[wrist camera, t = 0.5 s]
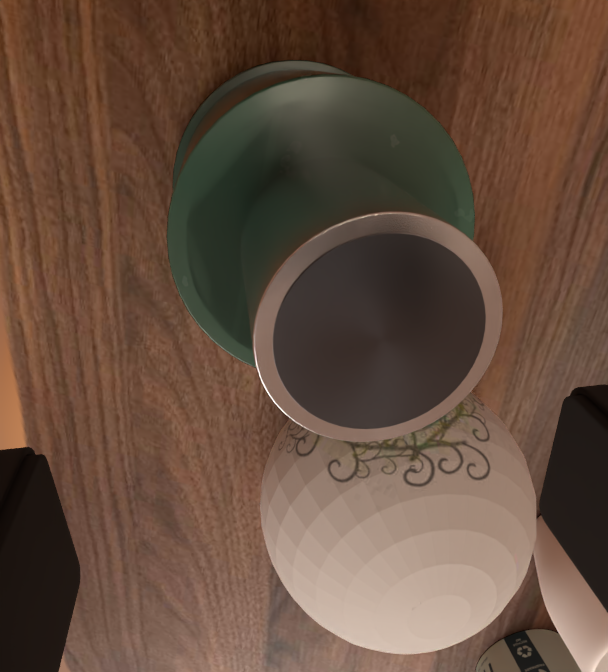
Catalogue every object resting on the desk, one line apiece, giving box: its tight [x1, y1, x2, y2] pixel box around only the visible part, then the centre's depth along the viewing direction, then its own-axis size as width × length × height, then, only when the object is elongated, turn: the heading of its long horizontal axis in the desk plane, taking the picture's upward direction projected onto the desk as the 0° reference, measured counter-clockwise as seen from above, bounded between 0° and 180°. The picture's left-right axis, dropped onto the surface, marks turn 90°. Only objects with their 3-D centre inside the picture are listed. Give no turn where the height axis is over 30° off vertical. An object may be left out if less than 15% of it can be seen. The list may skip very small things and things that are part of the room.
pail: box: [167, 60, 475, 368], centre depth 26 cm, size 13×13×10 cm
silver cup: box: [240, 157, 503, 442], centre depth 18 cm, size 7×7×8 cm
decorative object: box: [260, 393, 536, 654], centre depth 31 cm, size 15×15×15 cm
